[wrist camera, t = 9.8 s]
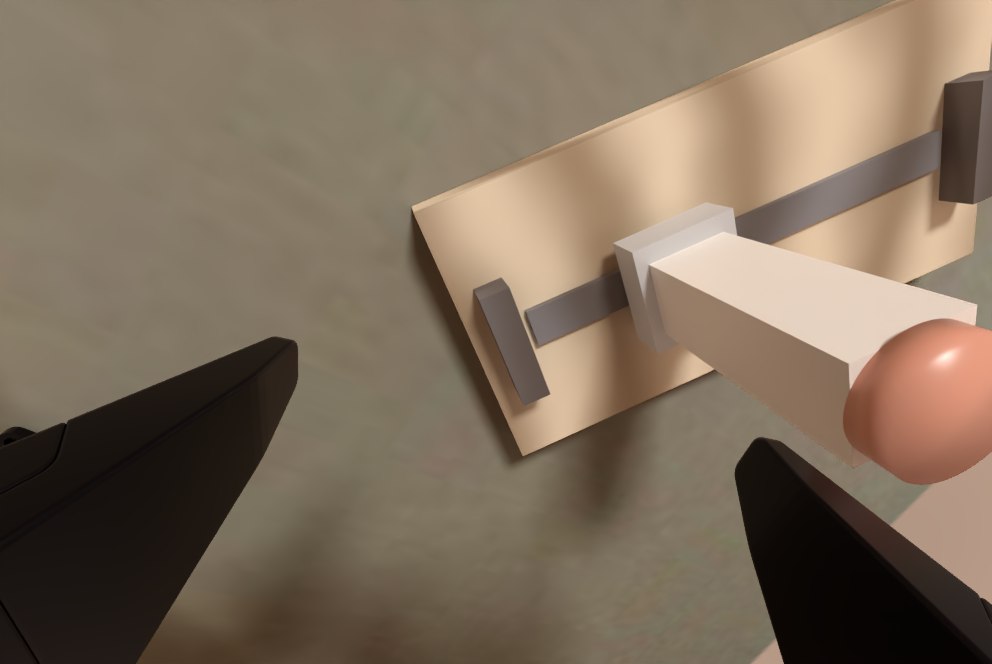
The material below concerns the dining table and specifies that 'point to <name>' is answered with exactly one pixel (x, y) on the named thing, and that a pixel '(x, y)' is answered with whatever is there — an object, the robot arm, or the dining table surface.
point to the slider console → (720, 201)
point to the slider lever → (819, 343)
